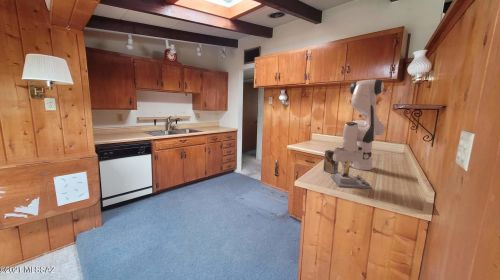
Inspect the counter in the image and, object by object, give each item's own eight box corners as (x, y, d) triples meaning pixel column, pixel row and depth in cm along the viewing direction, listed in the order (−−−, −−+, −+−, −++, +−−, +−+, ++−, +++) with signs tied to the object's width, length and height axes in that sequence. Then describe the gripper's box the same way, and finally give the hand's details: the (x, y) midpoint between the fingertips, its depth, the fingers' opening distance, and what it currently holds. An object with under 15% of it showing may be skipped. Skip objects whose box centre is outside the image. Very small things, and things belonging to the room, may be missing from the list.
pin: (342, 174, 141) (344, 157, 138) (346, 174, 141) (348, 157, 139) (344, 176, 138) (346, 158, 135) (349, 176, 138) (351, 158, 136)
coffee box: (338, 172, 160) (340, 152, 157) (333, 174, 156) (336, 153, 153) (327, 169, 167) (328, 149, 164) (322, 170, 163) (324, 150, 160)
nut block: (330, 176, 150) (331, 171, 149) (359, 178, 148) (360, 172, 147) (338, 186, 132) (339, 180, 131) (371, 188, 130) (372, 182, 129)
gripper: (337, 148, 131) (335, 169, 133) (365, 147, 135) (363, 168, 137) (331, 146, 137) (329, 166, 139) (358, 145, 141) (356, 165, 144)
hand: (346, 167), depth 138 cm, fingers closed on pin, 3 cm apart
